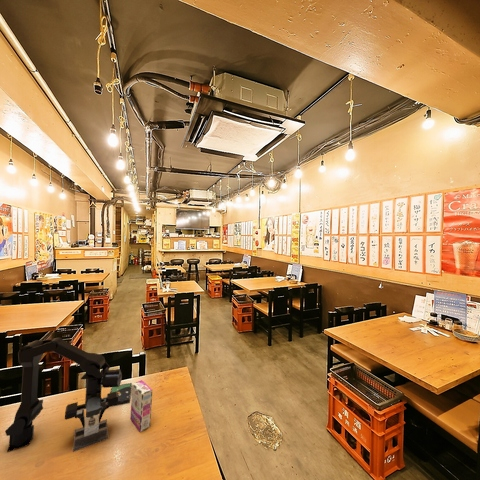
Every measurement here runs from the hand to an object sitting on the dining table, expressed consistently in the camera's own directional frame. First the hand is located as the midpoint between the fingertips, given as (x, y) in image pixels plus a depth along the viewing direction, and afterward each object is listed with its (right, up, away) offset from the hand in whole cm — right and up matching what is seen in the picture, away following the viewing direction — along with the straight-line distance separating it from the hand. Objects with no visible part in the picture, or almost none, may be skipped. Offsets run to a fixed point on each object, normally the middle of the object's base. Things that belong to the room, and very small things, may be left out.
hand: (91, 424), depth 97 cm
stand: (0, -4, 0) cm, 4 cm away
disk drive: (-1, -6, +25) cm, 26 cm away
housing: (0, -2, 0) cm, 2 cm away
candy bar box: (+17, -6, +8) cm, 20 cm away
